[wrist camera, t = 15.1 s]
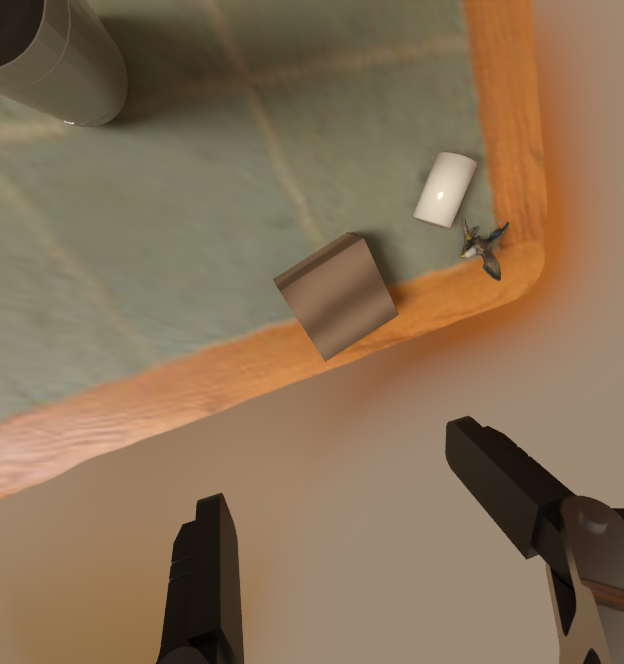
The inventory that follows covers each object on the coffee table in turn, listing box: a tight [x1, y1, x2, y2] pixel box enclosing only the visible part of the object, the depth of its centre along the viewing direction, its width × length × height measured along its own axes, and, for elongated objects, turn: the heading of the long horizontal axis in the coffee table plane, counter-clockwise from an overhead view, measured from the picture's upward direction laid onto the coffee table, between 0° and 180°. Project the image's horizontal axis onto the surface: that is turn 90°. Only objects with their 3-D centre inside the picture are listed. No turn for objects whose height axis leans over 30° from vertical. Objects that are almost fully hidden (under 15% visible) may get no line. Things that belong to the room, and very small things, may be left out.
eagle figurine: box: [460, 219, 509, 281], centre depth 46 cm, size 8×7×9 cm
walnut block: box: [273, 232, 399, 362], centre depth 45 cm, size 12×12×6 cm
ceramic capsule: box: [413, 152, 477, 229], centre depth 44 cm, size 5×5×8 cm
